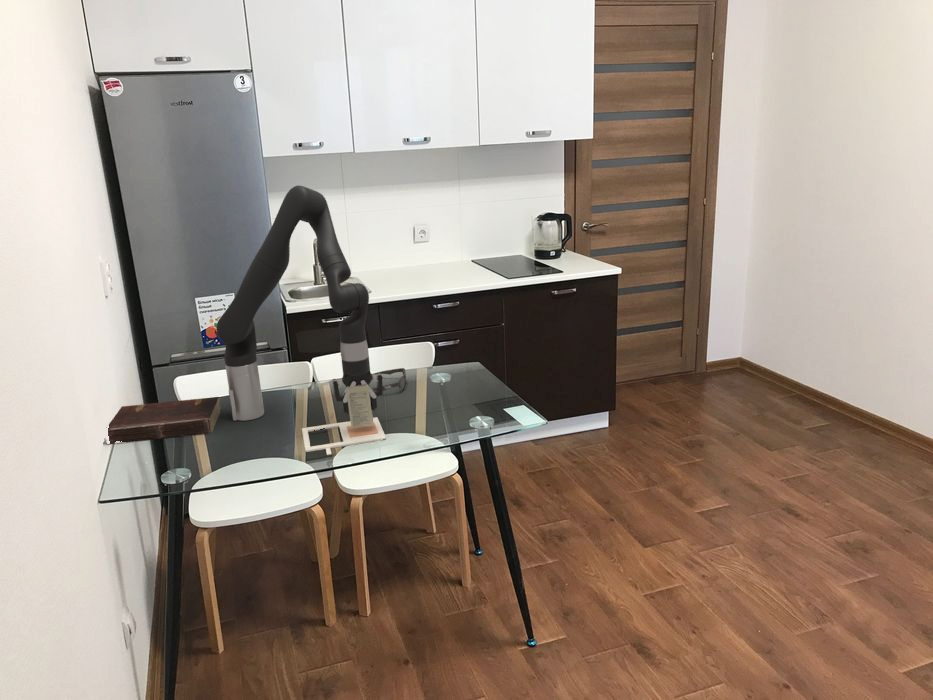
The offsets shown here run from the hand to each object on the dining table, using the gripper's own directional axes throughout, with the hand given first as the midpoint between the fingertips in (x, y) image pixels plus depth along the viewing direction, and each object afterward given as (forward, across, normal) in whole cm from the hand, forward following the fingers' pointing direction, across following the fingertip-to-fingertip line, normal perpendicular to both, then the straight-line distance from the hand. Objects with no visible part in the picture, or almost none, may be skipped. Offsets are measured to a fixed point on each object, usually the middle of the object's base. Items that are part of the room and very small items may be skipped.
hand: (360, 411), depth 210 cm
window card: (+6, -6, -2) cm, 9 cm away
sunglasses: (+7, +11, +35) cm, 37 cm away
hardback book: (+7, -56, +27) cm, 62 cm away
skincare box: (+4, 0, 0) cm, 4 cm away
